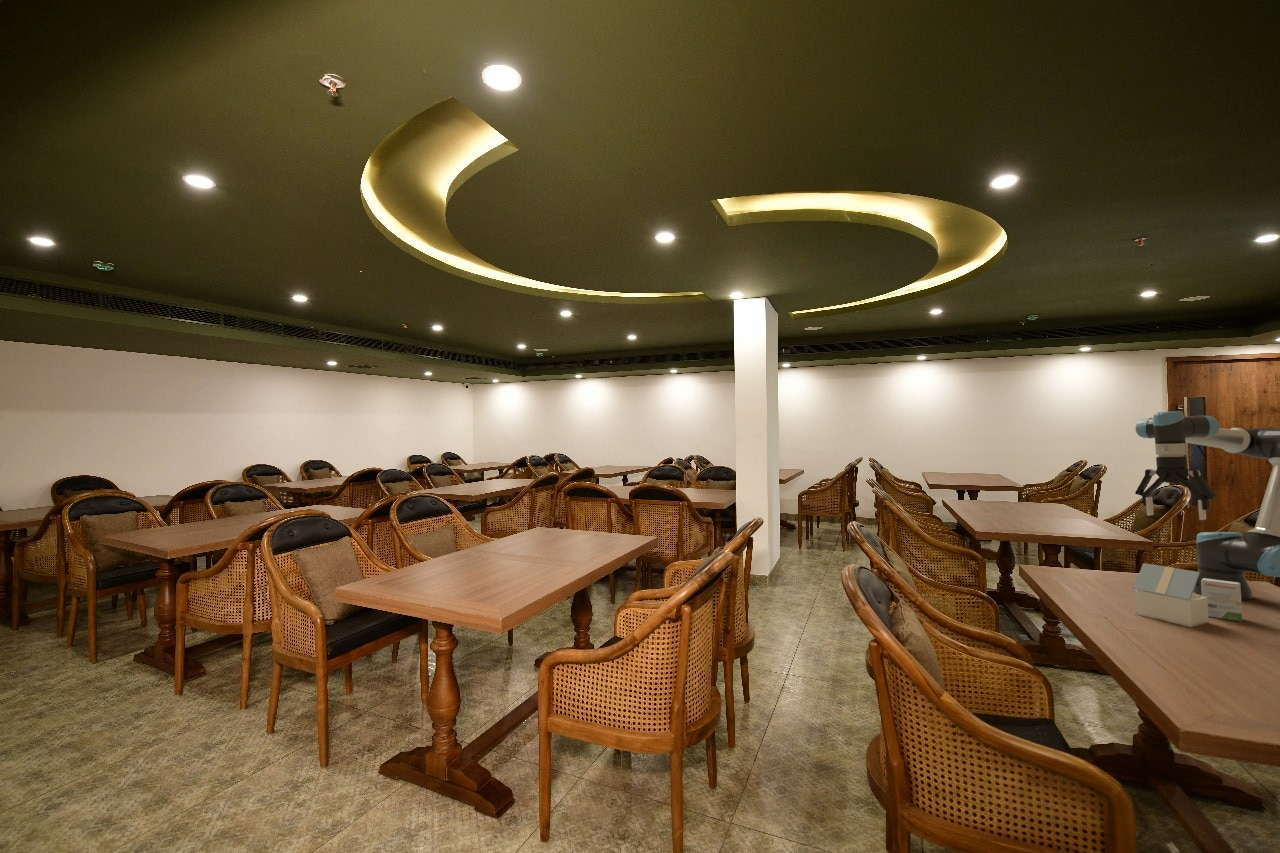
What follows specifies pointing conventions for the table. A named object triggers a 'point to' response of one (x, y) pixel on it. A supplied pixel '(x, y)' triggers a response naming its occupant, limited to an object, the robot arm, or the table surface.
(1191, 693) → the table surface
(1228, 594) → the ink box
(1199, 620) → the carton
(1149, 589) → the lid
